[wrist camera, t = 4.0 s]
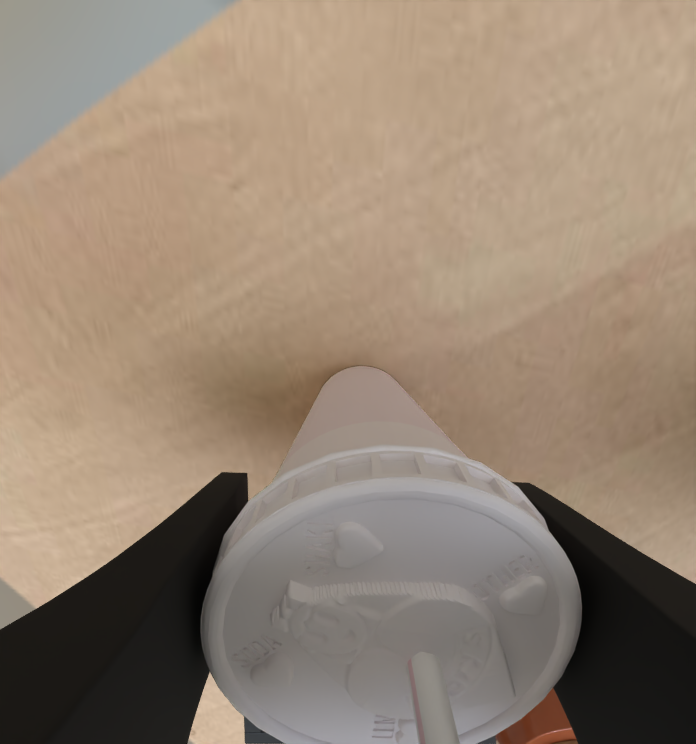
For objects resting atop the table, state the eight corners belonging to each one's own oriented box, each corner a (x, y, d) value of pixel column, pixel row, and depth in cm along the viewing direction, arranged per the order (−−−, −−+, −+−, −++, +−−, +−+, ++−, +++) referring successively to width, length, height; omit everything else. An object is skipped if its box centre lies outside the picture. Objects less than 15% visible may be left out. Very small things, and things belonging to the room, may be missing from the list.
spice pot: (560, 604, 18) (655, 756, 13) (541, 668, 20) (620, 830, 14) (472, 603, 18) (530, 756, 13) (458, 667, 20) (506, 831, 14)
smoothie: (390, 498, 17) (592, 1478, 3) (257, 440, 16) (-213, 1513, 2) (469, 376, 15) (1497, 1375, 2) (325, 302, 14) (24, 1337, 1)
